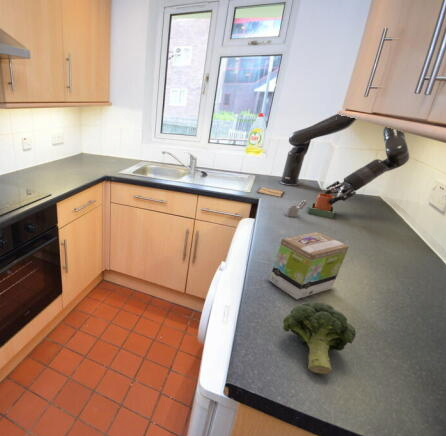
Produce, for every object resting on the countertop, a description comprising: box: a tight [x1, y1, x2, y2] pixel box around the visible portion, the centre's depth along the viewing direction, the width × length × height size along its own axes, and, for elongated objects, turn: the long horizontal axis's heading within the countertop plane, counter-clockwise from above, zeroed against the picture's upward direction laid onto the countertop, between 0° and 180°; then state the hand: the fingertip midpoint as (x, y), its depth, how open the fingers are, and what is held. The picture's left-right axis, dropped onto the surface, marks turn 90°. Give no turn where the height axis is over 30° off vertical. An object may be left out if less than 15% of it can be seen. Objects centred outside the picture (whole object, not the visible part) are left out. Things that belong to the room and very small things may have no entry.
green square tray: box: [308, 202, 336, 219], centre depth 144 cm, size 10×10×3 cm
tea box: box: [269, 231, 350, 300], centre depth 85 cm, size 15×10×15 cm, turn 114°
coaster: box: [257, 186, 284, 198], centre depth 173 cm, size 12×12×1 cm
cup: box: [314, 192, 335, 211], centre depth 143 cm, size 7×7×9 cm
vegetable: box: [282, 301, 357, 375], centre depth 63 cm, size 12×13×15 cm
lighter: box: [286, 199, 308, 218], centre depth 138 cm, size 7×2×8 cm, turn 85°
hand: (325, 200), depth 142 cm, fingers open, 8 cm apart
